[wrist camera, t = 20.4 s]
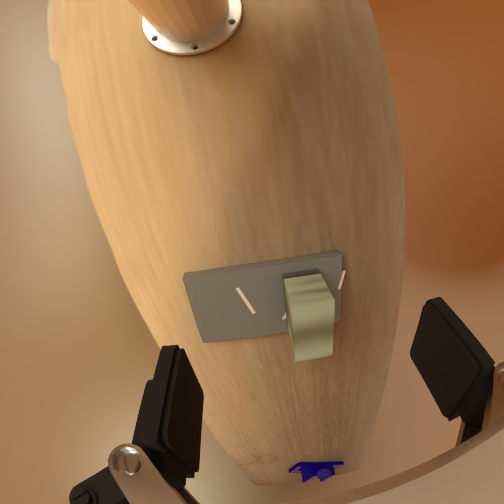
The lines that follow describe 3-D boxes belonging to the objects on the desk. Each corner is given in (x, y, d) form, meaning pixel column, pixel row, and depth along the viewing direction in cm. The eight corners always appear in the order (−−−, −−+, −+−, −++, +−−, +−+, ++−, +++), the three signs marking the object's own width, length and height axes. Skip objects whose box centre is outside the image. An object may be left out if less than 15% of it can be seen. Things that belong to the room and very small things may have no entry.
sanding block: (282, 273, 38) (291, 307, 30) (317, 268, 38) (334, 300, 30) (287, 324, 41) (295, 362, 34) (318, 319, 41) (332, 355, 34)
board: (184, 273, 39) (182, 278, 37) (342, 250, 38) (345, 254, 37) (203, 336, 44) (202, 342, 42) (340, 316, 43) (343, 322, 42)
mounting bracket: (288, 468, 71) (290, 482, 66) (299, 461, 69) (301, 476, 63) (331, 468, 75) (334, 480, 69) (342, 460, 72) (346, 473, 67)
